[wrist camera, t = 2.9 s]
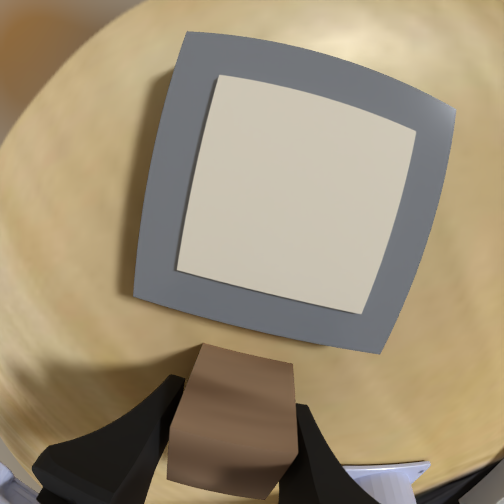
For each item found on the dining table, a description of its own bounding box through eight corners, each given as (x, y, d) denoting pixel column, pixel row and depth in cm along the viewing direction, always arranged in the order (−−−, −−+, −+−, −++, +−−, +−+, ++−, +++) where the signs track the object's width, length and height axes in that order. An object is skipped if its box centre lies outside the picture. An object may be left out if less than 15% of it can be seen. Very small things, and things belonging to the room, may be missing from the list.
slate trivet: (366, 327, 11) (381, 357, 9) (153, 276, 11) (130, 298, 9) (429, 116, 9) (459, 108, 7) (201, 52, 9) (185, 28, 7)
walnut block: (268, 419, 13) (264, 499, 8) (192, 402, 13) (166, 479, 9) (292, 363, 12) (298, 453, 7) (203, 342, 12) (169, 427, 7)
